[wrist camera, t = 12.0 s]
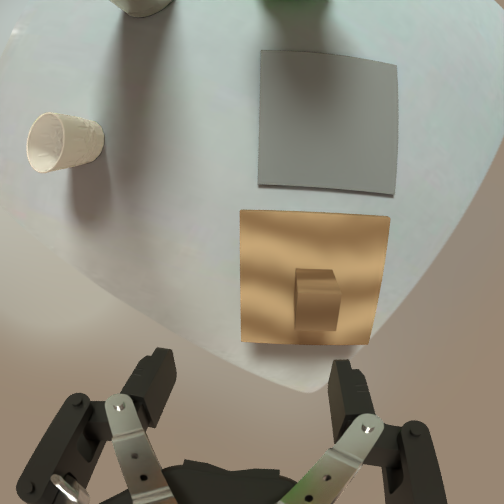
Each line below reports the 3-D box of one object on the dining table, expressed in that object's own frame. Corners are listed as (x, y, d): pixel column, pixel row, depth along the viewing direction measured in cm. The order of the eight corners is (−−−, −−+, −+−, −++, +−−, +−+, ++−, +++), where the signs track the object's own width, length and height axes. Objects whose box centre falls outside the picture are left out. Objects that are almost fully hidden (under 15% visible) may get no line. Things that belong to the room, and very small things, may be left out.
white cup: (84, 177, 39) (41, 185, 29) (63, 141, 37) (20, 143, 28) (116, 142, 37) (73, 142, 27) (93, 106, 35) (49, 100, 26)
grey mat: (261, 51, 31) (260, 50, 30) (395, 66, 29) (396, 65, 29) (258, 183, 37) (257, 184, 36) (393, 194, 35) (394, 194, 34)
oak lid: (241, 209, 31) (229, 224, 24) (387, 216, 29) (412, 232, 23) (242, 337, 36) (233, 372, 29) (366, 340, 34) (379, 375, 28)
